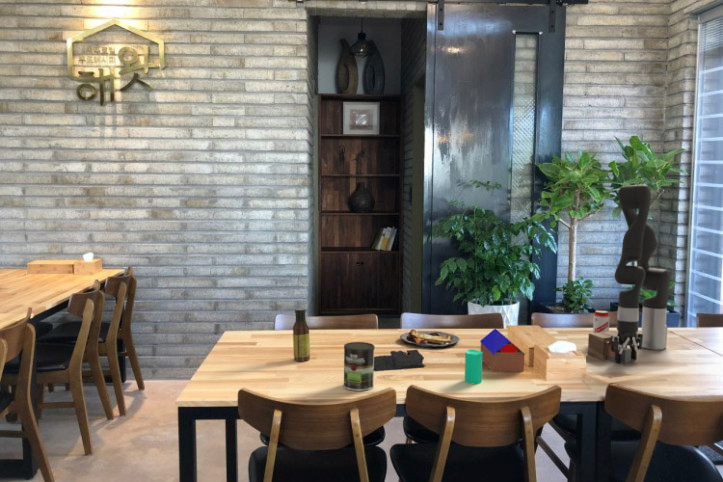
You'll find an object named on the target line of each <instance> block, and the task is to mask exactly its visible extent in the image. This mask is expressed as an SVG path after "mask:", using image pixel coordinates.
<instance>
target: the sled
mask: <svg viewBox="0 0 723 482" xmlns="http://www.w3.org/2000/svg"><path fill="white" fill-rule="evenodd" d="M631 351H632V350H631V349H630V348H628V347H627V348H625V349H623V351H622V353H621V354H622V360H621V363H619V365H624V364H630V363H631V364H632V363H635V361H634V359H631ZM606 360H609V361H611V362H613V363H616V361H615V359H614V358H611V357H608V356H606Z"/></svg>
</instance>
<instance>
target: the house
mask: <svg viewBox="0 0 723 482" xmlns="http://www.w3.org/2000/svg"><path fill="white" fill-rule="evenodd" d="M479 342H480V351H481V352H482V362H484V363H485V364H486V365H487V367H488V368H489V369H490V370H491V371H492V372H495V373H496V372H497V373H499V372H501V373H502V372H504V373H505V372H506V373H507V372H525V355H526V353H524V352H523V351H522V350H521V349H520V348H519V347H518V346H517V345H515V344H514V343H513V342H512V341H511V340H510V339H509V338H507V337H506V336H505V335H504V334H503V333H501V332H500V331H499V330H497V328H494V329H492V331H490V332H489V333H487V334H486V335H485V336H484V337H483V338H482V339H480V340H479Z"/></svg>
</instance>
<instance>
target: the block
mask: <svg viewBox="0 0 723 482" xmlns="http://www.w3.org/2000/svg"><path fill="white" fill-rule="evenodd" d="M614 349H615V346H614ZM619 349H620V348H619ZM606 356H608V357H611V358H614V359H615V352H613V351H611V343H609V342H608V343H607V345H606Z"/></svg>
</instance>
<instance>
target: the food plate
mask: <svg viewBox="0 0 723 482" xmlns="http://www.w3.org/2000/svg"><path fill="white" fill-rule="evenodd" d="M399 337H400V339H401V340H402V341H403V342H405V343H406V342H407V343H409V344H414V345H416V346H418V347H422V348H425V347H426V348H427V347H429V348H431V347H433V348H435V347H438V348H439V347H445V346H449V345H452V344H456V343H457V342H459V341H460V340H461V339H460V337H459V336H458V335H455V334H451V333H448V332H445V331H435V330H433V331H432V330H415V329H411V330H410V331H409V332H405V333H403V334H401V335H400V336H399Z"/></svg>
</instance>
